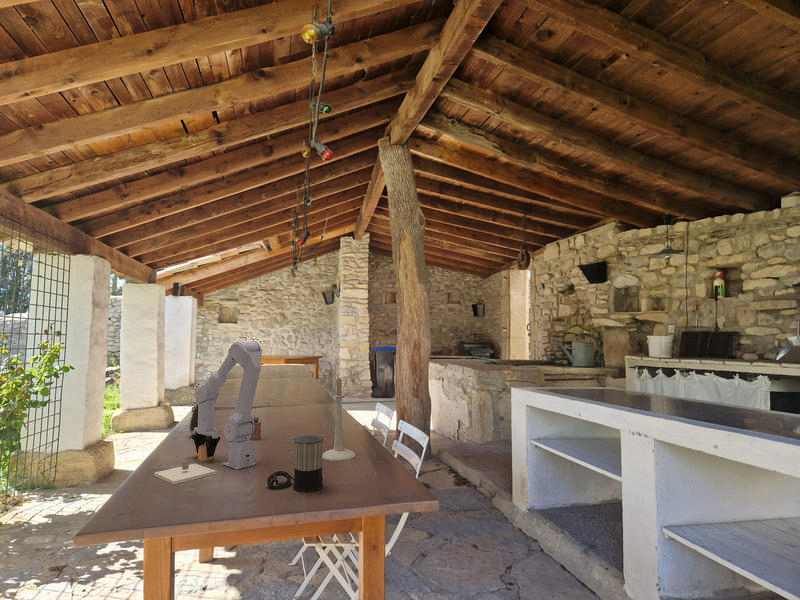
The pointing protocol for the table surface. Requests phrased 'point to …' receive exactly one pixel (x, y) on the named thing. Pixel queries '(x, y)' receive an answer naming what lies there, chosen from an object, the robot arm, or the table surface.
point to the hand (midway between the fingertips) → (205, 454)
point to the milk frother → (304, 466)
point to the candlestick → (338, 432)
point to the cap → (203, 453)
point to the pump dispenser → (194, 420)
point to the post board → (184, 473)
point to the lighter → (256, 430)
